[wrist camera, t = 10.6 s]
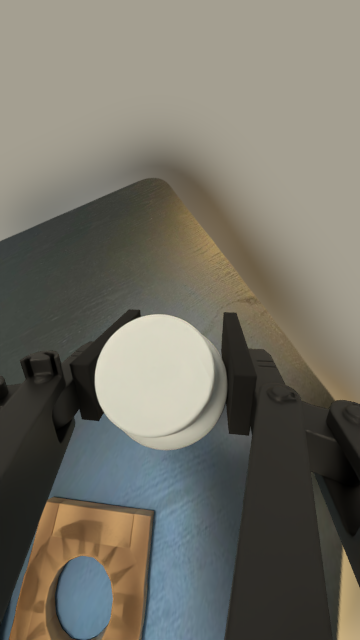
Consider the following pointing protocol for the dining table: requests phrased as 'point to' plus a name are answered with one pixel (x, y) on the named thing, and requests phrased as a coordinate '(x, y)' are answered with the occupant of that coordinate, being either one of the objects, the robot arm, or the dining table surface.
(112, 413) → the supplement bottle
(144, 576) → the socket pad
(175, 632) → the dining table surface
